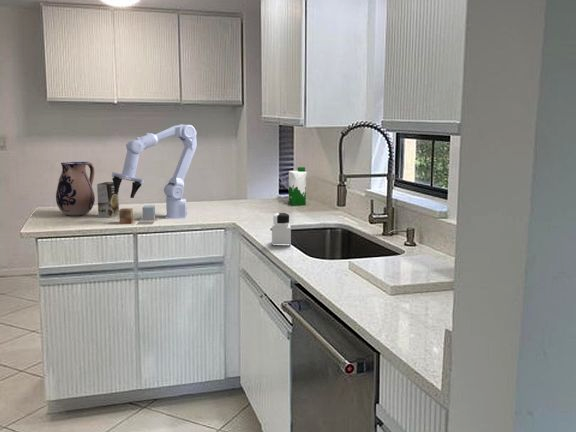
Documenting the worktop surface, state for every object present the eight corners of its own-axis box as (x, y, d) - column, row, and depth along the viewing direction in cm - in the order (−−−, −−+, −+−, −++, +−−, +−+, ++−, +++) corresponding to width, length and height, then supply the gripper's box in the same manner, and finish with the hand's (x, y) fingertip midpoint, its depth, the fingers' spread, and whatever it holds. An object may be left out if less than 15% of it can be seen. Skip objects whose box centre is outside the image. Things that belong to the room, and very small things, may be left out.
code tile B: (159, 218, 277) (159, 217, 277) (156, 221, 270) (156, 220, 269) (141, 218, 277) (141, 217, 277) (139, 221, 269) (139, 220, 269)
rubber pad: (154, 221, 268) (154, 221, 268) (152, 225, 262) (152, 224, 262) (138, 222, 268) (138, 221, 268) (136, 225, 261) (136, 224, 261)
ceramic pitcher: (49, 216, 280) (45, 163, 275) (77, 209, 299) (74, 159, 295) (80, 218, 274) (77, 165, 270) (107, 211, 294) (104, 161, 290)
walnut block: (133, 221, 268) (132, 208, 266) (131, 223, 263) (130, 210, 262) (121, 221, 267) (121, 208, 266) (119, 223, 262) (119, 210, 261)
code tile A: (137, 221, 269) (137, 220, 269) (134, 225, 261) (134, 224, 261) (119, 221, 268) (119, 220, 268) (115, 225, 261) (115, 224, 261)
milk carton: (307, 205, 315) (308, 168, 311) (291, 206, 312) (291, 168, 308) (302, 203, 323) (302, 166, 319) (286, 203, 320) (286, 166, 317)
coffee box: (110, 218, 276) (109, 184, 272) (98, 218, 277) (96, 183, 274) (120, 215, 284) (118, 181, 281) (107, 214, 286) (106, 181, 283)
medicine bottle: (290, 241, 232) (290, 211, 229) (290, 246, 225) (291, 215, 222) (271, 242, 231) (271, 211, 229) (271, 246, 224) (272, 215, 222)
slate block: (155, 218, 276) (154, 205, 275) (154, 220, 271) (153, 207, 270) (144, 218, 275) (144, 205, 274) (142, 220, 270) (142, 207, 269)
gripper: (111, 162, 261) (105, 192, 261) (142, 169, 259) (135, 199, 260) (118, 163, 268) (111, 192, 268) (148, 170, 266) (141, 199, 267)
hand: (123, 196), depth 265 cm, fingers open, 7 cm apart
